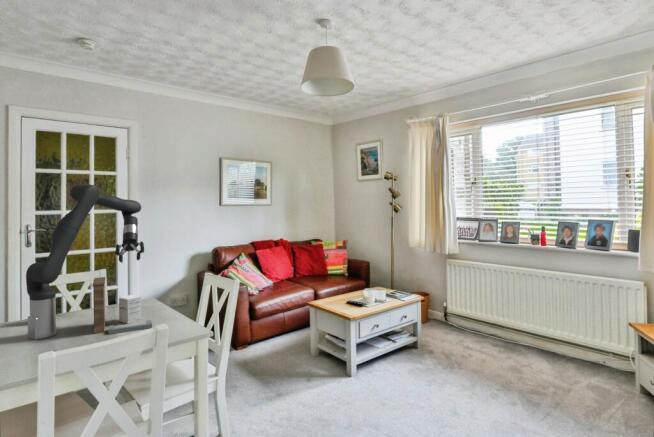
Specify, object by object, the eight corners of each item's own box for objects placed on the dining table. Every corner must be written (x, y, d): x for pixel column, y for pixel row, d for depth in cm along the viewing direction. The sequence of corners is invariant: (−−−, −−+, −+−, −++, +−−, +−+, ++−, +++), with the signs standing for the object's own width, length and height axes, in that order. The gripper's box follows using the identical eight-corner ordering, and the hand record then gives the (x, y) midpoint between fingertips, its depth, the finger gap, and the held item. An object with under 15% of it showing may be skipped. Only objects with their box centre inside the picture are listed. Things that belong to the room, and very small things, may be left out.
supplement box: (118, 321, 182) (118, 297, 181) (132, 317, 188) (132, 294, 188) (127, 324, 178) (127, 299, 178) (141, 320, 185) (141, 296, 184)
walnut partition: (104, 332, 166) (104, 283, 166) (93, 334, 164) (92, 284, 163) (105, 322, 181) (105, 277, 180) (95, 323, 178) (94, 277, 178)
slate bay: (109, 329, 170) (109, 325, 170) (151, 323, 179) (150, 319, 179) (108, 334, 164) (108, 330, 164) (152, 328, 173) (152, 323, 173)
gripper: (114, 233, 198) (112, 260, 192) (141, 230, 201) (141, 257, 195) (119, 237, 205) (118, 264, 199) (146, 234, 208) (145, 261, 202)
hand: (129, 261), depth 197 cm, fingers open, 8 cm apart
